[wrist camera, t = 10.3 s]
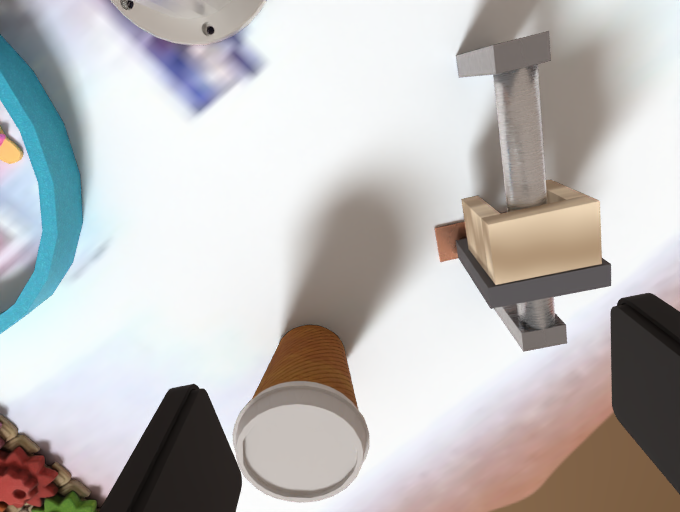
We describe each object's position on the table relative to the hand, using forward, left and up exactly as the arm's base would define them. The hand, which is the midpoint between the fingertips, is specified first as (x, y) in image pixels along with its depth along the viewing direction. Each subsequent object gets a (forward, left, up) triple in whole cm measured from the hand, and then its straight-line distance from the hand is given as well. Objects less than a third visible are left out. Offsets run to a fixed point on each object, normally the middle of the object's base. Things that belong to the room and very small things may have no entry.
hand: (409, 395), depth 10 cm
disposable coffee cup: (+15, -8, -26) cm, 31 cm away
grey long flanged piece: (+3, +10, -26) cm, 28 cm away
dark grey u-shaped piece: (+8, +10, -26) cm, 29 cm away
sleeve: (+5, +10, -23) cm, 26 cm away
